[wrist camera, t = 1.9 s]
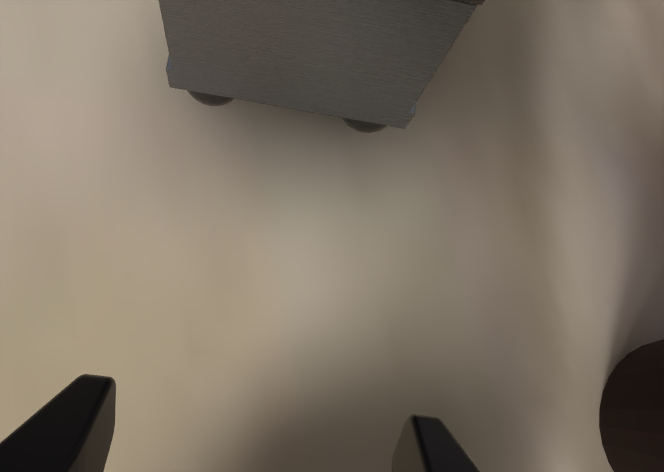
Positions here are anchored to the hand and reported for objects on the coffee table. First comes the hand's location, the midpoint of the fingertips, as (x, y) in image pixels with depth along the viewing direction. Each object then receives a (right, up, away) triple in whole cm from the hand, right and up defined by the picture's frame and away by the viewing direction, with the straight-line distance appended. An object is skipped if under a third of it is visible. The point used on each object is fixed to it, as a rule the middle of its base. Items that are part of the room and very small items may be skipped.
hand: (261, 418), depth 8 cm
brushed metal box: (0, +11, +16) cm, 19 cm away
